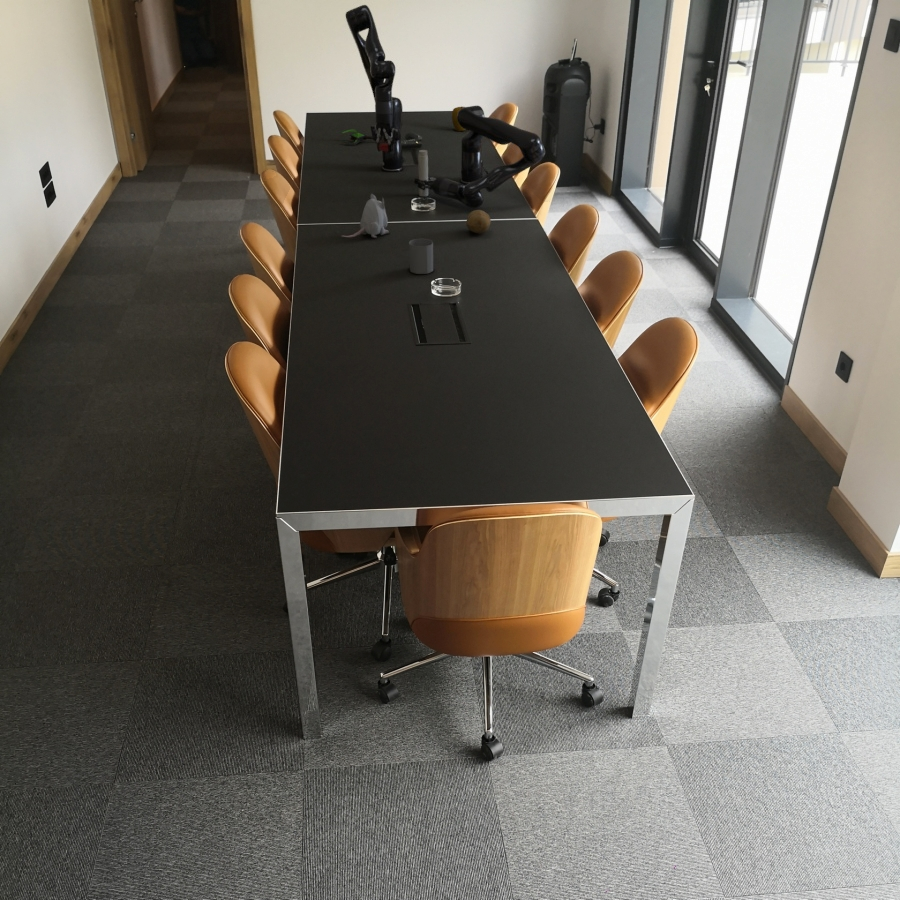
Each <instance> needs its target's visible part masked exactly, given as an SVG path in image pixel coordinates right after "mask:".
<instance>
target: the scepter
mask: <svg viewBox="0 0 900 900" xmlns="http://www.w3.org/2000/svg"><path fill="white" fill-rule="evenodd" d="M348 132H352V133H351V134H349V136H350V138H349V140H350V141H353V142H349V141H345V140H342V139H340V142H342V143H344V144H345V145H351V146H356V145H358V144H359V143H361V142H364V141H367V140H373V137H372V135H366V134H365V133H363V132H359V130H357V129H346V130H344V131H342V132H341V134H344V133H348ZM353 132H354V133H353Z"/></svg>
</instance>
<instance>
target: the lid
mask: <svg viewBox="0 0 900 900" xmlns="http://www.w3.org/2000/svg"><path fill="white" fill-rule="evenodd" d="M388 145H389V144H388V143H381V144H379V150H381V151H380V152H382V151H388Z"/></svg>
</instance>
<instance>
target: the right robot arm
mask: <svg viewBox="0 0 900 900" xmlns="http://www.w3.org/2000/svg"><path fill="white" fill-rule="evenodd" d="M464 107H465V108H462V109H461V110H460V111H459V112H458V114H457V120H458V123H459V124H460V126H461V127H462V128H464V129H466V130H465V131H467V132H466V133H465V134H464V135H462V137H461V169H460V175H461V177H460V178H461V179H460V182H458V181H455V180H453V179H450V178H447V177H443V176H433V177H429V176H428V180H420V179H419V178H417V177H416V178H414V180H413V181H414V185H417V188H418V189H419V188H420V189H422V190H425V188H428V190H432V191H433V193H434V194H435V195H438V196H441V197H444V198H448V199H452V200H456V201H458V202H460V203H461V204H462V205H465V206H466V207H468V208H471V209H477V208H480V207H481V206H482V205H483V204H484V202H485V201H484V200H485V199H484V196H483V194H482V192H481V190H483V189H484V190H485V191H486V192H487V193H492V192H494V191H495V190H496V189H498V188H499V187H500V186H501V185H503V184H504V183H505V182H507V181H508V180H509V179H511V178H513V177H515V176H517V175H518V174H521V173H522V172H523V171H526V170H527V169H530V168H531V167H533V166H534V165H536V164H538V163H539V162H541V161H542V160H543V159H544V157H545V156H546V150H545V147H544V144H543V142H542V139H541V137H540V136H539V135H538V134H536V133H535V132H533V131H532V132H531V131H528V130H526V129H525V130H524V129H521V128H519V127H516V126H515V125H512V124H510V123H509V122H506V121H505V120H502V119H500V118H496V117H490V116H489V117H487V116H485V111H484V109H483V107H482V106H480V105H470V106H464ZM483 138H486V139H489V140H490V141H492V142H494V143H496V144H498V145H501V146H505V145H509V144H513V145H515V146H516V147H518V148H519V150H520V151H521V155H522V157H521V158H520V159H519V160H517V161H515V162H514V163H509V164H504V165H503V164H502V165H499V166H496V167H494V168H492V169H491V170H490V171H488V170H487V169H485V167H484V160H483V159H482V154H483V150H482V149H483ZM484 173H486V174H485V175H484ZM423 182H424V183H423Z"/></svg>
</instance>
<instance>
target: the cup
mask: <svg viewBox="0 0 900 900" xmlns="http://www.w3.org/2000/svg"><path fill="white" fill-rule="evenodd" d="M408 253H409V272H411V273H412V274H416V275H426V274H430V273H432V272H434V241H433V240H431V239H428V238H422V237H421V238H420V237H419V238H414V239H411V240H410V241H409V242H408Z"/></svg>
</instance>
